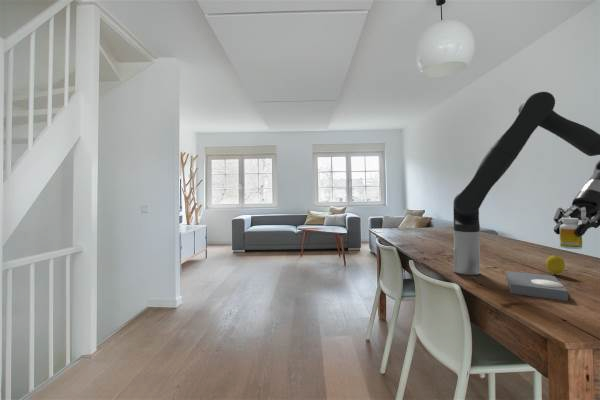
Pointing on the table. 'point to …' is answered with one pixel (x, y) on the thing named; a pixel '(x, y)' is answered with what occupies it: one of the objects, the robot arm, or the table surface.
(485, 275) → the table surface
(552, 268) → the lemon
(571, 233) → the supplement bottle
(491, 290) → the table surface
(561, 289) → the plinth
